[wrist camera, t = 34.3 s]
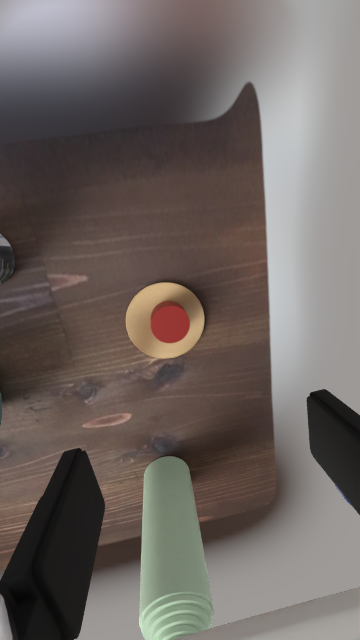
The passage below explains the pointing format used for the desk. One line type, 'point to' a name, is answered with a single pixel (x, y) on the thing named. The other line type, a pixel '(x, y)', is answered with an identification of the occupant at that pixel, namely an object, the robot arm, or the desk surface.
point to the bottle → (172, 556)
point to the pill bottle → (6, 259)
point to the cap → (169, 322)
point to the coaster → (141, 319)
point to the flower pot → (0, 408)
